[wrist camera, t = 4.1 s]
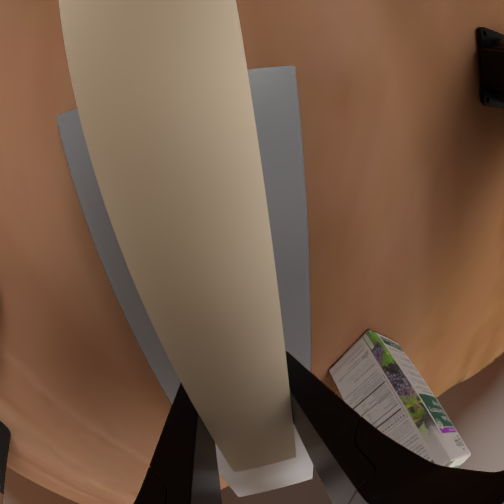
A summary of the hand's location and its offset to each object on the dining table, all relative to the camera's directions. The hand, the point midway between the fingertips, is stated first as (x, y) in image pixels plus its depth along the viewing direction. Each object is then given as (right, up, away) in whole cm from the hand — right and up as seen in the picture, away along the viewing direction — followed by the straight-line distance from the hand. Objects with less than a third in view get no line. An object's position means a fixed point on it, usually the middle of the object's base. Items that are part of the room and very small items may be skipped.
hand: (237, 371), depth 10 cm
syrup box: (+11, -6, +20) cm, 23 cm away
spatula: (0, -1, +2) cm, 2 cm away
